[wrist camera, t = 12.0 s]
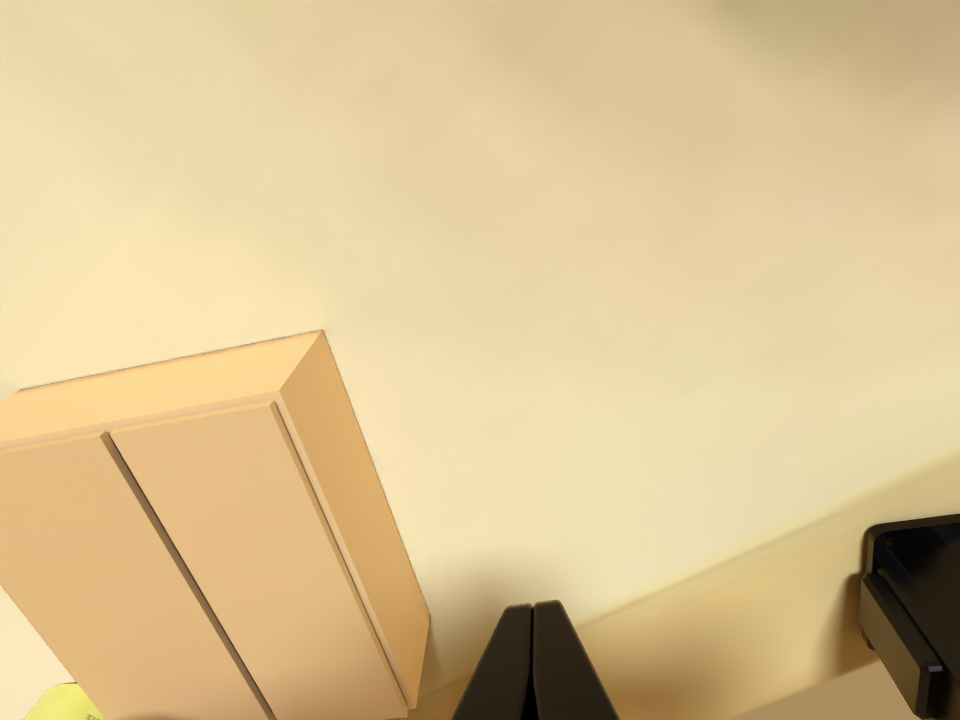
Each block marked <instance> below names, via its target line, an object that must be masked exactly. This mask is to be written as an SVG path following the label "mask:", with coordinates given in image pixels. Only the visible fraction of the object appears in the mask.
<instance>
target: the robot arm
mask: <svg viewBox="0 0 960 720" xmlns="http://www.w3.org/2000/svg"><path fill="white" fill-rule="evenodd" d="M884 537H886V538H884ZM859 624H860V626H861V627H862V636H863V639H864V641H865V642H866V644H867V646H868V647H869V648H870V649H872V650H875V651H876V652H877V654H878V656H879V657H880V659H881V661H882V662H883V664H884V665H885V667H886V669H887V671H888V672H889V673H890V675H891V677H892V679H893V680H894V682H895V684H896V685H897V687H898V689H899V690H900V692H901V694H902V695H903V697H904V699H905V700H906V702H907V704H908V705H909V707H910V709H911V710H912V712H913V714H915V715H916V716H917V717H919V718H920V719H922V720H960V514H955V515H947V516H939V517H931V518H924V519H916V520H908V521H900V522H892V523H884V524H880V525H877V526H875V527H873V528H872V529H871V530H870V531H869V534H868V545H867V562H866V574H864V576H863V578H862V580H861V590H860V608H859ZM451 720H620V718H619V716H618V714H617V712H616V710H615V708H614V706H613V704H612V702H611V700H610V698H609V696H608V694H607V692H606V690H605V688H604V686H603V684H602V682H601V680H600V678H599V676H598V674H597V672H596V670H595V668H594V666H593V664H592V662H591V661H590V659H589V657H588V655H587V653H586V651H585V649H584V647H583V645H582V643H581V641H580V639H579V637H578V635H577V633H576V631H575V629H574V627H573V625H572V623H571V621H570V619H569V617H568V615H567V613H566V611H565V609H564V607H563V605H562V604H561V602H560V601H558V600H551V601H543V602H537V603H535V604H534V607H533V605H532V604H529V603H526V604H518V605H511V606H508V607H507V608H506V609H505V610H504V612H503V614H502V616H501V618H500V620H499V622H498V624H497V626H496V628H495V630H494V632H493V634H492V636H491V638H490V640H489V643H488V645H487V647H486V649H485V651H484V653H483V655H482V657H481V659H480V661H479V663H478V665H477V667H476V669H475V671H474V673H473V675H472V677H471V679H470V681H469V683H468V685H467V688H466V690H465V692H464V694H463V696H462V698H461V700H460V702H459V704H458V706H457V708H456V710H455V712H454V714H453V716H452V718H451Z"/></svg>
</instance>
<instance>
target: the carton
mask: <svg viewBox="0 0 960 720" xmlns="http://www.w3.org/2000/svg"><path fill="white" fill-rule="evenodd" d="M271 400H273V401H274V403H275V405H276V407H277V410H278V412H279V414H280V417H281V419H282V421H283V423H284V426H285V428H286V430H287V433H288V435H289V437H290V439H291V442H292V444H293V446H294V449H295V451H296V453H297V456H298V458H299V460H300V462H301V465H302V467H303V469H304V472H305V474H306V476H307V478H308V481H309V483H310V485H311V488H312V490H313V492H314V494H315V497H316V499H317V501H318V504H319V506H320V508H321V510H322V513H323V515H324V517H325V520H326V522H327V524H328V526H329V529H330V531H331V533H332V536H333V538H334V540H335V542H336V545H337V547H338V549H339V552H340V554H341V556H342V558H343V561H344V563H345V565H346V568H347V570H348V572H349V574H350V577H351V579H352V581H353V584H354V586H355V588H356V591H357V593H358V595H359V597H360V600H361V602H362V604H363V607H364V609H365V611H366V613H367V616H368V618H369V620H370V623H371V625H372V627H373V629H374V632H375V634H376V636H377V639H378V641H379V643H380V645H381V648H382V650H383V652H384V655H385V657H386V659H387V661H388V664H389V666H390V668H391V671H392V673H393V675H394V677H395V680H396V682H397V684H398V687H399V689H400V691H401V693H402V696H403V698H404V700H405V703H406V705H407V707H408V709H416V705H417V698H418V692H419V686H420V679H421V673H422V667H423V660H424V654H425V648H426V642H427V635H428V629H429V623H430V614H429V611H428V609H427V606H426V603H425V601H424V598H423V595H422V593H421V590H420V587H419V585H418V582H417V579H416V577H415V574H414V571H413V569H412V566H411V563H410V561H409V558H408V555H407V553H406V550H405V547H404V545H403V542H402V539H401V537H400V534H399V531H398V529H397V526H396V523H395V521H394V518H393V515H392V513H391V510H390V507H389V505H388V502H387V499H386V497H385V494H384V491H383V489H382V486H381V483H380V481H379V478H378V475H377V473H376V470H375V467H374V465H373V462H372V459H371V457H370V454H369V451H368V449H367V446H366V443H365V441H364V438H363V435H362V433H361V430H360V427H359V425H358V422H357V419H356V416H355V414H354V411H353V408H352V406H351V403H350V400H349V398H348V395H347V392H346V390H345V387H344V384H343V382H342V379H341V376H340V374H339V371H338V368H337V366H336V363H335V360H334V358H333V355H332V352H331V350H330V347H329V344H328V342H327V339H326V336H325V334H324V331H323V330H318V331H313V332H308V333H303V334H298V335H293V336H288V337H283V338H278V339H273V340H268V341H263V342H258V343H252V344H247V345H242V346H237V347H232V348H227V349H222V350H217V351H212V352H207V353H202V354H197V355H192V356H187V357H182V358H177V359H172V360H167V361H162V362H157V363H152V364H147V365H142V366H137V367H132V368H127V369H122V370H117V371H112V372H107V373H102V374H97V375H92V376H87V377H82V378H76V379H71V380H66V381H61V382H56V383H51V384H46V385H41V386H36V387H31V388H26V389H21V390H19V391H18V392H16V393H15V394H13V395H12V396H10V397H9V398H7V399H6V400H4V401H3V402H1V403H0V585H1V586H2V587H3V589H4V590H5V591H6V593H7V594H8V595H9V596H10V598H11V599H12V600H13V601H14V603H15V604H16V605H17V607H18V608H19V609H20V610H21V612H22V613H23V614H24V616H25V617H26V618H27V619H28V621H29V622H30V623H31V625H32V626H33V627H34V628H35V630H36V631H37V632H38V634H39V635H40V636H41V637H42V639H43V640H44V641H45V643H46V644H47V645H48V646H49V648H50V649H51V650H52V651H53V653H54V654H55V655H56V657H57V658H58V659H59V660H60V662H61V663H62V664H63V666H64V667H65V668H66V669H67V671H68V672H69V673H70V675H71V676H72V677H73V678H74V680H75V681H76V682H77V684H78V685H79V686H80V687H81V689H82V690H83V691H84V692H85V694H86V695H87V696H88V698H89V699H90V700H91V701H92V703H93V704H94V705H95V707H96V708H97V709H98V710H99V712H100V713H101V714H102V716H103V717H104V718H105V719H106V720H277V718H276V716H275V715H274V713H273V711H272V710H271V708H270V706H269V704H268V703H267V701H266V699H265V698H264V696H263V694H262V693H261V691H260V689H259V687H258V686H257V684H256V682H255V681H254V679H253V677H252V676H251V674H250V672H249V670H248V669H247V667H246V665H245V664H244V662H243V660H242V659H241V657H240V655H239V653H238V652H237V650H236V648H235V647H234V645H233V643H232V642H231V640H230V638H229V637H228V635H227V633H226V631H225V630H224V628H223V626H222V625H221V623H220V621H219V620H218V618H217V616H216V614H215V613H214V611H213V609H212V608H211V606H210V604H209V603H208V601H207V599H206V597H205V596H204V594H203V592H202V591H201V589H200V587H199V586H198V584H197V582H196V580H195V579H194V577H193V575H192V574H191V572H190V570H189V569H188V567H187V565H186V563H185V562H184V560H183V558H182V557H181V555H180V553H179V552H178V550H177V548H176V546H175V545H174V543H173V541H172V540H171V538H170V536H169V535H168V533H167V531H166V529H165V528H164V526H163V524H162V523H161V521H160V519H159V518H158V516H157V514H156V512H155V511H154V509H153V507H152V506H151V504H150V502H149V501H148V499H147V497H146V495H145V494H144V492H143V490H142V489H141V487H140V485H139V484H138V482H137V480H136V478H135V477H134V475H133V473H132V472H131V470H130V468H129V467H128V465H127V463H126V461H125V460H124V458H123V456H122V455H121V453H120V451H119V450H118V448H117V446H116V444H115V443H114V441H113V439H112V438H111V436H110V433H111V432H112V431H113V430H114V429H115V428H119V427H125V426H131V425H136V424H142V423H147V422H153V421H159V420H164V419H170V418H175V417H181V416H187V415H192V414H198V413H203V412H209V411H215V410H220V409H226V408H231V407H237V406H243V405H248V404H254V403H260V402H265V401H271Z"/></svg>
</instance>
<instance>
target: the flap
mask: <svg viewBox="0 0 960 720" xmlns="http://www.w3.org/2000/svg"><path fill="white" fill-rule="evenodd" d="M110 436H111V438H112V439H113V441H114V443H115V444H116V446H117V448H118V450H119V451H120V453H121V455H122V456H123V458H124V460H125V461H126V463H127V465H128V467H129V468H130V470H131V472H132V473H133V475H134V477H135V478H136V480H137V482H138V484H139V485H140V487H141V489H142V490H143V492H144V494H145V495H146V497H147V499H148V501H149V502H150V504H151V506H152V507H153V509H154V511H155V512H156V514H157V516H158V518H159V519H160V521H161V523H162V524H163V526H164V528H165V529H166V531H167V533H168V535H169V536H170V538H171V540H172V541H173V543H174V545H175V546H176V548H177V550H178V552H179V553H180V555H181V557H182V558H183V560H184V562H185V563H186V565H187V567H188V569H189V570H190V572H191V574H192V575H193V577H194V579H195V580H196V582H197V584H198V586H199V587H200V589H201V591H202V592H203V594H204V596H205V597H206V599H207V601H208V603H209V604H210V606H211V608H212V609H213V611H214V613H215V614H216V616H217V618H218V620H219V621H220V623H221V625H222V626H223V628H224V630H225V631H226V633H227V635H228V637H229V638H230V640H231V642H232V643H233V645H234V647H235V648H236V650H237V652H238V653H239V655H240V657H241V659H242V660H243V662H244V664H245V665H246V667H247V669H248V670H249V672H250V674H251V676H252V677H253V679H254V681H255V682H256V684H257V686H258V687H259V689H260V691H261V693H262V694H263V696H264V698H265V699H266V701H267V703H268V704H269V706H270V708H271V710H272V711H273V713H274V715H275V716H276V718H277V720H385V719H396V718H407V716H408V710H409V709H408V707H407V705H406V703H405V700H404V698H403V696H402V693H401V691H400V689H399V687H398V684H397V682H396V680H395V677H394V675H393V673H392V671H391V668H390V666H389V664H388V661H387V659H386V657H385V655H384V652H383V650H382V648H381V645H380V643H379V641H378V639H377V636H376V634H375V632H374V629H373V627H372V625H371V623H370V620H369V618H368V616H367V613H366V611H365V609H364V607H363V604H362V602H361V600H360V597H359V595H358V593H357V591H356V588H355V586H354V584H353V581H352V579H351V577H350V574H349V572H348V570H347V568H346V565H345V563H344V561H343V558H342V556H341V554H340V552H339V549H338V547H337V545H336V542H335V540H334V538H333V536H332V533H331V531H330V529H329V526H328V524H327V522H326V520H325V517H324V515H323V513H322V510H321V508H320V506H319V504H318V501H317V499H316V497H315V494H314V492H313V490H312V488H311V485H310V483H309V481H308V478H307V476H306V474H305V472H304V469H303V467H302V465H301V462H300V460H299V458H298V456H297V453H296V451H295V449H294V446H293V444H292V442H291V439H290V437H289V435H288V433H287V430H286V428H285V426H284V423H283V421H282V419H281V417H280V414H279V412H278V410H277V407H276V405H275V403H274V401H273V400H271V401H265V402H260V403H254V404H248V405H243V406H237V407H231V408H226V409H220V410H215V411H209V412H203V413H198V414H192V415H187V416H181V417H175V418H170V419H164V420H159V421H153V422H147V423H142V424H136V425H131V426H125V427H119V428H115V429H114V430H113V431H112V432H111V433H110Z"/></svg>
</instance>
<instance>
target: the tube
mask: <svg viewBox="0 0 960 720" xmlns="http://www.w3.org/2000/svg"><path fill="white" fill-rule="evenodd" d="M24 720H106V719H105V718H104V717H103V716H102V714H101V713H100V712H99V710H98V709H97V708H96V707H95V705H94V704H93V703H92V701H91V700H90V699H89V698H88V696H87V695H86V694H85V692H84V691H83V690H82V689H81V687H80V686H79V685H78V684H74V683H71V684H61V685H57V686H54V687H52V688H50V689H49V690H47V691H46V692H45V693H44V694H43V695H42V697H41V698H40V699H39V700H38V702H37V703H36V704H35V705H34V707H33V708H32V709H31V711H30V712H29V713H28V715H27V716H26V717H25V719H24Z"/></svg>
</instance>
